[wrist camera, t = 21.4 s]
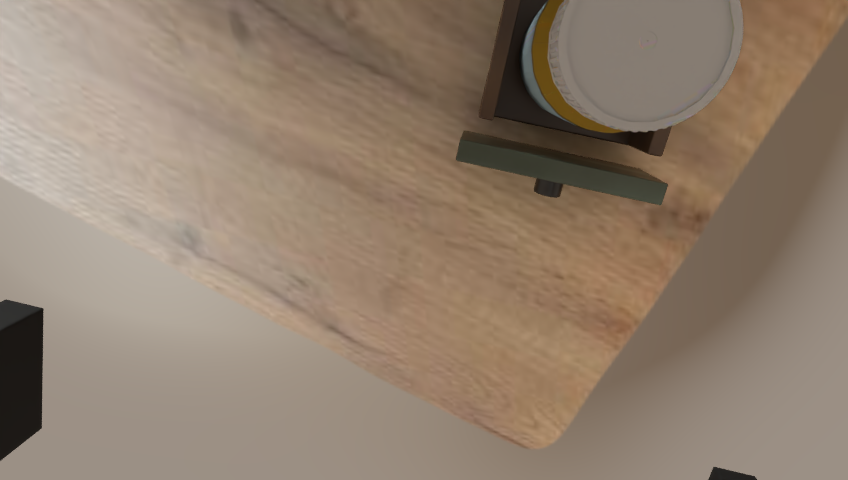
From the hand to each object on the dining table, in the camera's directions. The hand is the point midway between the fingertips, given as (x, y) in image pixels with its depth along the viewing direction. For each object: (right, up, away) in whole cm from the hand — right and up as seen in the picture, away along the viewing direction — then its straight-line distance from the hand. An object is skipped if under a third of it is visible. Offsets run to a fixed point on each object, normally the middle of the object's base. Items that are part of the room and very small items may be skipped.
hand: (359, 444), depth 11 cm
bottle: (+10, +15, +23) cm, 29 cm away
